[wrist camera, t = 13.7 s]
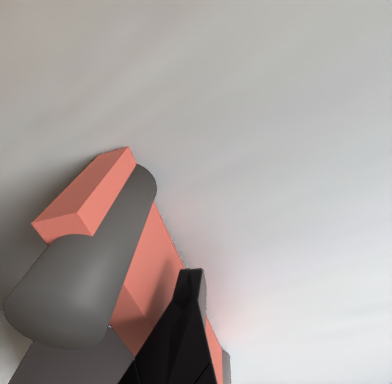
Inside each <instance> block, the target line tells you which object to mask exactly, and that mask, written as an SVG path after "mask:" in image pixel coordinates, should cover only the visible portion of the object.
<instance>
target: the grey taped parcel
mask: <svg viewBox="0 0 392 384" xmlns="http://www.w3.org/2000/svg"><path fill="white" fill-rule="evenodd" d="M133 360H135V356H134V355H133V354H132V352H131V351H130V350H129V349H128V347H127V346H126V345H125V343H124V342H123V341H122V340H121V338H120V337H119V336H118V334H117V333H116V332H115V331H114V329H112V328H107V330H106V333H105V336H104V338H103V339H102V340H101V341H100V342H99V343H98V344H96V345H94V346H92V347H89V348H84V349H76V350H71V349H60V348H55V347H50V346H47V345H44V344H41V343H38V342H36V341H33V343H32V344H31V346H30V348H29V349H28V351H27V353H26V354H25V356H24V358H23V360H22V361H21V363H20V365H19V366H18V368H17V370H16V371H15V373H14V375H13V376H12V378H11V380H10V381H9V383H8V384H117V383H118V382H119V380H120V379H121V377H122V376H123V375H124V373H125V372H126V370H127V368H128V367H129V365H130V364H131V362H132V361H133Z"/></svg>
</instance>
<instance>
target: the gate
mask: <svg viewBox="0 0 392 384" xmlns="http://www.w3.org/2000/svg"><path fill="white" fill-rule="evenodd" d="M156 192H157V185H156V181H155V179H154V177H153V176H152V174H151V173H150V172H149V171H148V170H147V169H145V168H144V167H142V166H141V165H138V164H137V163H136V161H135V159H134V157H133V155H132V152H131V150H130V148H129V146H128V147H125V148H121V149H118V150H114V151H111V152H107V153H104V154H100V155H98V156H97V157H96V158H95V159H94V160H93V161H92V162H91V163H90V164H89V165H88V166H87V167H86V168H85V169H84V170H83V171H82V172H81V173H80V174H79V175H78V176H77V177H76V178H75V179H74V180H73V181H72V182H71V183H70V184H69V186H68V187H67V188H66V189H65V190H64V191H63V192H62V193H61V194H60V195H59V196H58V197H57V198H56V199H55V200H54V201H53V202H52V203H51V204H50V205H49V206H48V207H47V208H46V209H45V210H44V211H43V212H42V213H41V214H40V215H39V216H38V217H37V218H36V219H35V220H34V221H33V222H32V223H31V224H32V225H33V227H34V228H35V229H36V231H37V232H38V233H39V234H40V236H41V237H42V238H43V239H44V241H45V242H46V243H47V245H48V247H47V248H46V250H45V251H44V252H43V253H42V255H41V256H40V257H39V258H38V260H37V261H36V262H35V264H34V265H33V266H32V267H31V269H30V270H29V271H28V272H27V274H26V275H25V276H24V277H23V279H22V280H21V281H20V282H19V284H18V285H17V286H16V287H15V289H14V290H13V291H12V292H11V294H10V295H9V296H8V297H7V299H6V300H5V302H4V305H3V310H4V314H5V317H6V319H7V320H8V322H9V323H10V324H11V325H12V326H13V327H14V328H15V329H16V330H17V331H18V332H20V333H21V334H23V335H24V336H26V337H28V338H29V339H31V340H33V341H36V342H38V343H41V344H44V345H47V346H50V347H55V348H60V349H71V350H76V349H84V348H89V347H92V346H94V345H96V344H98V343H99V342H100V341H101V340H102V339H103V338H104V336H105V333H106V330H107V328H108V325H109V324H110V325H111V327H112V328H113V329H114V331H115V332H116V333H117V334H118V336H119V337H120V338H121V340H122V341H123V342H124V343H125V345H126V346H127V347H128V349H129V350H130V351H131V352H132V354H133V355H134V356H136V355H137V353H138V351H139V350H140V348H141V347H142V345H143V344H144V342H145V340H146V339H147V337H148V336H149V334H150V333H151V331H152V330H153V328H154V326H155V325H156V323H157V322H158V320H159V319H160V317H161V316H162V314H163V312H164V311H165V309H166V308H167V306H168V305H169V303H170V301H171V300H172V296H173V293H174V289H175V285H176V282H177V278H178V274H179V271H180V269H185V268H184V266H183V264H182V262H181V259H180V257H179V255H178V253H177V251H176V249H175V246H174V244H173V242H172V240H171V238H170V235H169V233H168V231H167V229H166V227H165V224H164V222H163V220H162V218H161V216H160V214H159V211H158V209H157V207H156V205H155V203H154V198H155V196H156ZM206 336H207V340H208V345H209V349H210V353H211V358H212V362H213V366H214V370H215V375H216V379H217V383H218V384H231V371H230V356H229V354H228V353H227V352H226V351H224V350H222V349H221V347H220V345H219V342H218V340H217V338H216V336H215V334H214V331H213V329H212V327H211V325H210V323H209V321H208V318H207V316H206Z"/></svg>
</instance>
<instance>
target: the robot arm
mask: <svg viewBox="0 0 392 384" xmlns="http://www.w3.org/2000/svg"><path fill="white" fill-rule="evenodd" d="M117 384H218V383H217V379H216V375H215V370H214V366H213V362H212V358H211V353H210V349H209V345H208V340H207V336H206V281H205V275H204V270H203V269H201V268H194V269H180V271H179V274H178V278H177V282H176V285H175V289H174V293H173V296H172V300H171V301H170V303H169V305H168V306H167V308H166V309H165V311H164V312H163V314H162V316H161V317H160V319H159V320H158V322H157V323H156V325H155V326H154V328H153V330H152V331H151V333H150V334H149V336H148V337H147V339H146V340H145V342H144V344H143V345H142V347H141V348H140V350H139V351H138V353H137V355H136V356H135V360H133V361H132V362H131V364H130V365H129V367H128V368H127V370H126V372H125V373H124V375H123V376H122V377H121V379H120V380H119V382H118V383H117Z"/></svg>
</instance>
